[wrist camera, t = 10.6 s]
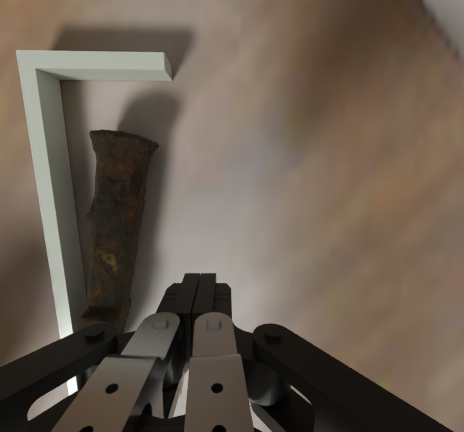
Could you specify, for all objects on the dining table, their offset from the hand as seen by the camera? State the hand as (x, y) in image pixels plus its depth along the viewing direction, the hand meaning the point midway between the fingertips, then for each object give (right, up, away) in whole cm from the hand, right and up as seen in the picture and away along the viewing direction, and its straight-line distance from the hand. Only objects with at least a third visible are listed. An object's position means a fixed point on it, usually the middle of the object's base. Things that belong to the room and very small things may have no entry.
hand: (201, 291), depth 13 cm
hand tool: (-7, +1, +9) cm, 12 cm away
